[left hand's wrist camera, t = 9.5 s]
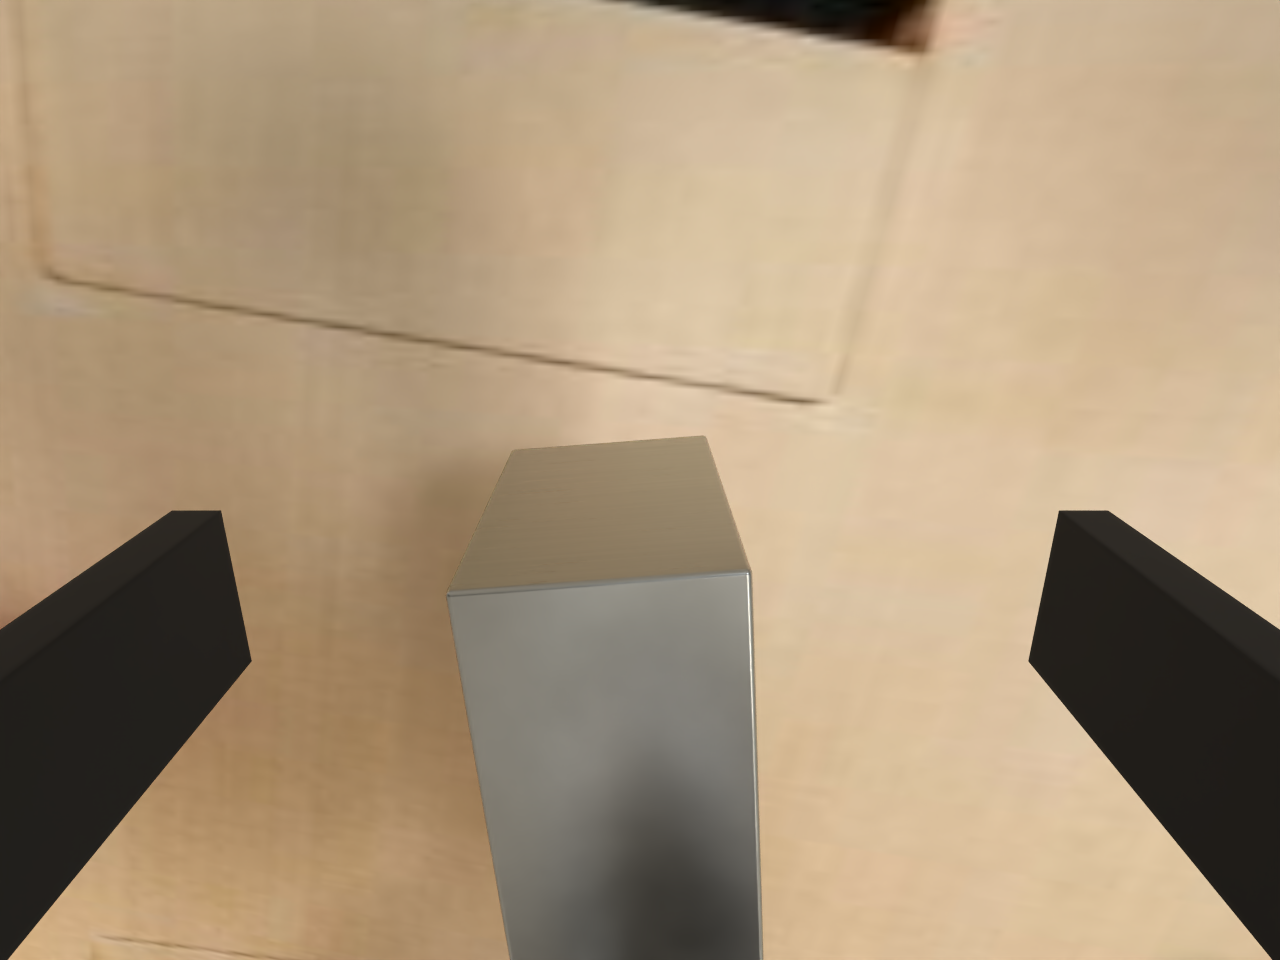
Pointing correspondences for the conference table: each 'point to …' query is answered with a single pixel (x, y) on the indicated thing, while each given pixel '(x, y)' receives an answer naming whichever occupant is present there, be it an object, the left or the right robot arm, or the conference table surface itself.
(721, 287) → the conference table surface
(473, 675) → the bar
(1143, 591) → the left robot arm
